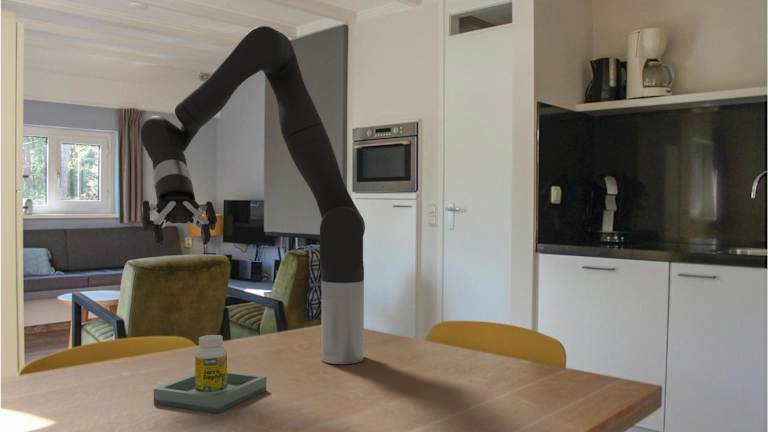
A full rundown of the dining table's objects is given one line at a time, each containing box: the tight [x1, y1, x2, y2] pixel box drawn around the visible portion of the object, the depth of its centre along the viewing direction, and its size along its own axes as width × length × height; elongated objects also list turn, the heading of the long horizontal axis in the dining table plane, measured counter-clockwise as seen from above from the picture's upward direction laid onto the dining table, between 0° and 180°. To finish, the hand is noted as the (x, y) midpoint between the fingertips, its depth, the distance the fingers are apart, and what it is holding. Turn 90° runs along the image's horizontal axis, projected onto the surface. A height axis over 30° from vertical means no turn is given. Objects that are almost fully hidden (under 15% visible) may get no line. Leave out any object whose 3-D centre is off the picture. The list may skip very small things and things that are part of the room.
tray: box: [153, 371, 268, 414], centre depth 108 cm, size 14×13×2 cm
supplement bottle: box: [194, 334, 228, 395], centre depth 108 cm, size 5×5×10 cm
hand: (183, 242), depth 122 cm, fingers open, 8 cm apart
